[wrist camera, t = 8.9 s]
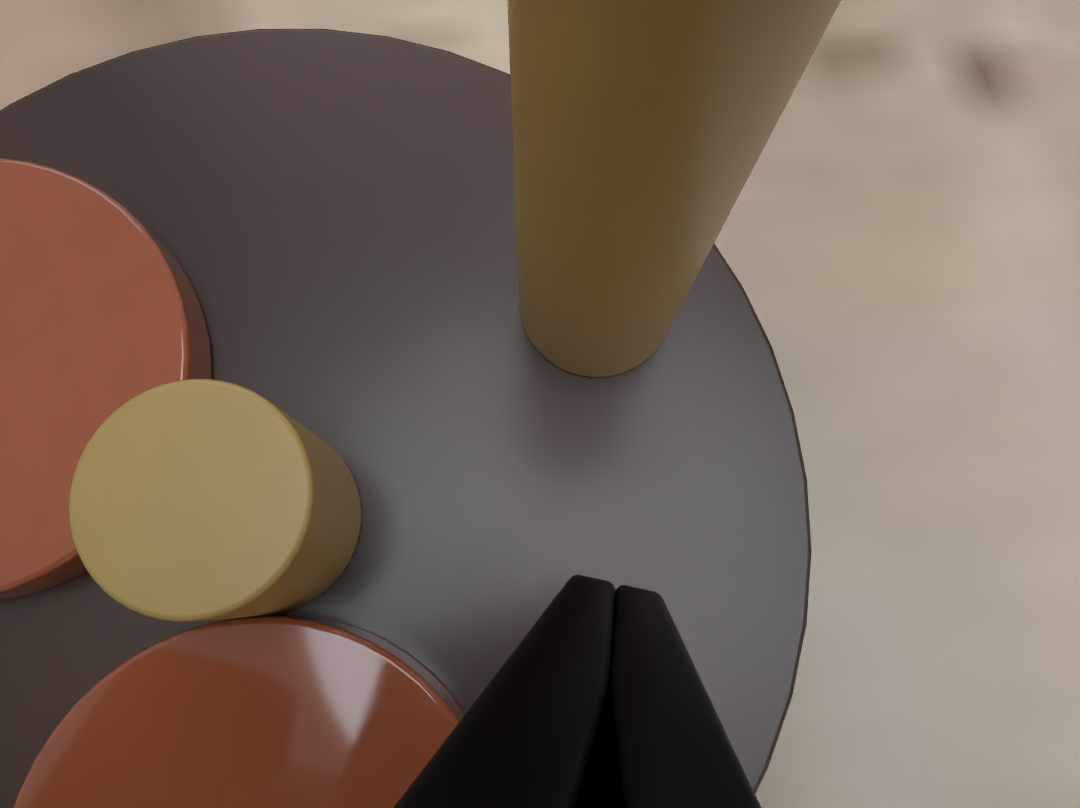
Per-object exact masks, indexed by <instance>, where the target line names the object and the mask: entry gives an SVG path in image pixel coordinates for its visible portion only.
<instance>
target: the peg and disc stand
mask: <svg viewBox="0 0 1080 808" xmlns="http://www.w3.org/2000/svg"><path fill="white" fill-rule="evenodd" d="M840 1H841V0H508V24H509V49H510V74H511V75H510V74H508V73H505V72H502V71H500V70H497V69H494V68H492V67H489V66H486V65H484V64H481V63H478V62H476V61H473V60H470V59H468V58H465V57H462V56H460V55H457V54H454V53H452V52H449V51H445V50H441V49H437V48H433V47H429V46H424V45H420V44H416V43H412V42H408V41H404V40H400V39H396V38H391V37H387V36H379V35H371V34H362V33H354V32H345V31H337V30H328V29H256V30H248V31H239V32H231V33H222V34H214V35H205V36H197V37H192V38H188V39H184V40H180V41H175V42H171V43H167V44H163V45H159V46H154V47H150V48H146V49H142V50H138V51H133V52H130V53H127V54H125V55H122V56H119V57H116V58H114V59H111V60H108V61H105V62H103V63H100V64H97V65H94V66H92V67H89V68H86V69H83V70H81V71H78V72H75V73H72V74H70V75H68V76H66V77H64V78H62V79H60V80H58V81H56V82H54V83H52V84H50V85H48V86H46V87H44V88H42V89H40V90H38V91H36V92H34V93H32V94H30V95H28V96H26V97H24V98H22V99H20V100H18V101H16V102H14V103H12V104H10V105H8V106H7V107H5V108H4V109H2V110H1V111H0V808H394V806H395V805H396V804H397V802H398V801H399V800H400V798H401V797H402V796H403V794H404V793H405V792H406V791H407V789H408V788H409V787H410V785H411V784H412V783H413V781H414V780H415V779H416V778H417V776H418V775H419V774H420V772H421V771H422V770H423V768H424V767H425V766H426V765H427V763H428V762H429V761H430V759H431V758H432V757H433V755H434V754H435V753H436V752H437V750H438V749H439V748H440V746H441V745H442V744H443V742H444V741H445V740H446V739H447V737H448V736H449V735H450V733H451V732H452V731H453V729H454V728H455V727H456V726H457V724H458V723H459V722H460V720H461V719H462V718H463V716H464V715H465V714H466V713H467V711H468V710H469V709H470V707H471V706H472V705H473V703H474V702H475V701H476V700H477V698H478V697H479V696H480V694H481V693H482V692H483V690H484V689H485V688H486V687H487V685H488V684H489V683H490V681H491V680H492V679H493V677H494V676H495V675H496V674H497V672H498V671H499V670H500V668H501V667H502V666H503V664H504V663H505V662H506V661H507V659H508V658H509V657H510V655H511V654H512V653H513V651H514V650H515V649H516V648H517V646H518V645H519V644H520V642H521V641H522V640H523V638H524V637H525V636H526V635H527V633H528V632H529V631H530V629H531V628H532V627H533V625H534V624H535V623H536V622H537V620H538V619H539V618H540V616H541V615H542V614H543V612H544V611H545V610H546V608H547V607H548V606H549V605H550V603H551V602H552V601H553V599H554V598H555V597H556V595H557V594H558V593H559V592H560V590H561V589H562V588H563V586H564V585H565V584H566V582H567V581H568V580H569V579H570V578H571V577H572V576H574V575H583V576H587V577H592V578H596V579H601V580H605V581H609V582H611V583H612V584H613V585H614V587H615V590H616V589H617V588H618V587H619V586H621V585H628V586H632V587H637V588H641V589H646V590H650V591H654V592H657V593H658V594H660V595H661V597H662V598H663V600H664V602H665V604H666V606H667V608H668V610H669V612H670V615H671V617H672V619H673V621H674V623H675V625H676V627H677V629H678V632H679V634H680V636H681V638H682V640H683V642H684V644H685V646H686V649H687V651H688V653H689V655H690V657H691V659H692V661H693V663H694V666H695V668H696V670H697V672H698V674H699V676H700V678H701V681H702V683H703V685H704V687H705V689H706V691H707V693H708V695H709V698H710V700H711V702H712V704H713V706H714V708H715V710H716V712H717V715H718V717H719V719H720V721H721V723H722V725H723V727H724V729H725V732H726V734H727V736H728V738H729V740H730V742H731V744H732V747H733V749H734V751H735V753H736V755H737V757H738V759H739V761H740V764H741V766H742V768H743V770H744V772H745V774H746V776H747V778H748V781H749V783H750V785H751V787H752V789H753V791H754V793H756V791H757V789H758V787H759V785H760V783H761V781H762V779H763V777H764V775H765V773H766V771H767V769H768V766H769V763H770V760H771V757H772V754H773V751H774V748H775V745H776V742H777V739H778V736H779V733H780V730H781V728H782V725H783V722H784V719H785V716H786V713H787V710H788V707H789V704H790V701H791V698H792V694H793V689H794V684H795V679H796V674H797V669H798V664H799V659H800V654H801V649H802V644H803V639H804V634H805V629H806V623H807V608H808V593H809V578H810V563H811V538H810V522H809V506H808V490H807V478H806V473H805V468H804V463H803V458H802V453H801V448H800V442H799V437H798V432H797V427H796V422H795V417H794V412H793V409H792V406H791V403H790V400H789V397H788V394H787V391H786V388H785V385H784V382H783V379H782V376H781V373H780V370H779V367H778V364H777V361H776V358H775V355H774V352H773V349H772V346H771V344H770V342H769V340H768V338H767V336H766V334H765V332H764V330H763V328H762V326H761V324H760V322H759V320H758V317H757V315H756V313H755V311H754V309H753V307H752V305H751V303H750V301H749V299H748V297H747V295H746V293H745V291H744V289H743V287H742V285H741V284H740V282H739V281H738V279H737V278H736V276H735V275H734V273H733V271H732V270H731V268H730V267H729V265H728V264H727V262H726V261H725V259H724V258H723V256H722V255H721V253H720V252H719V250H718V249H717V247H716V246H715V244H714V242H715V240H716V238H717V236H718V234H719V232H720V230H721V228H722V227H723V225H724V223H725V221H726V219H727V217H728V215H729V213H730V211H731V209H732V207H733V206H734V204H735V202H736V200H737V198H738V196H739V194H740V192H741V190H742V188H743V186H744V185H745V183H746V181H747V179H748V177H749V175H750V173H751V171H752V169H753V167H754V165H755V163H756V162H757V160H758V158H759V156H760V154H761V152H762V150H763V148H764V146H765V144H766V142H767V141H768V139H769V137H770V135H771V133H772V131H773V129H774V127H775V125H776V123H777V121H778V120H779V118H780V116H781V114H782V112H783V110H784V108H785V106H786V104H787V102H788V100H789V98H790V97H791V95H792V93H793V91H794V89H795V87H796V85H797V83H798V81H799V79H800V77H801V76H802V74H803V72H804V70H805V68H806V66H807V64H808V62H809V60H810V58H811V56H812V54H813V53H814V51H815V49H816V47H817V45H818V43H819V41H820V39H821V37H822V35H823V33H824V32H825V30H826V28H827V26H828V24H829V22H830V20H831V18H832V16H833V14H834V12H835V11H836V9H837V7H838V5H839V3H840Z"/></svg>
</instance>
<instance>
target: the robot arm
mask: <svg viewBox="0 0 1080 808" xmlns="http://www.w3.org/2000/svg"><path fill="white" fill-rule="evenodd" d="M394 808H761V806H760V804H759V802H758V800H757V798H756V795H755V793H754V791H753V789H752V787H751V785H750V783H749V781H748V778H747V776H746V774H745V772H744V770H743V768H742V766H741V764H740V761H739V759H738V757H737V755H736V753H735V751H734V749H733V747H732V744H731V742H730V740H729V738H728V736H727V734H726V732H725V729H724V727H723V725H722V723H721V721H720V719H719V717H718V715H717V712H716V710H715V708H714V706H713V704H712V702H711V700H710V698H709V695H708V693H707V691H706V689H705V687H704V685H703V683H702V681H701V678H700V676H699V674H698V672H697V670H696V668H695V666H694V663H693V661H692V659H691V657H690V655H689V653H688V651H687V649H686V646H685V644H684V642H683V640H682V638H681V636H680V634H679V632H678V629H677V627H676V625H675V623H674V621H673V619H672V617H671V615H670V612H669V610H668V608H667V606H666V604H665V602H664V600H663V598H662V597H661V595H660V594H658V593H657V592H654V591H650V590H646V589H641V588H637V587H632V586H628V585H621V586H619V587H618V588H617V589H616V590H615V587H614V585H613V584H612V583H611V582H609V581H605V580H601V579H596V578H592V577H587V576H583V575H574V576H572V577H571V578H570V579H569V580H568V581H567V582H566V584H565V585H564V586H563V588H562V589H561V590H560V592H559V593H558V594H557V595H556V597H555V598H554V599H553V601H552V602H551V603H550V605H549V606H548V607H547V608H546V610H545V611H544V612H543V614H542V615H541V616H540V618H539V619H538V620H537V622H536V623H535V624H534V625H533V627H532V628H531V629H530V631H529V632H528V633H527V635H526V636H525V637H524V638H523V640H522V641H521V642H520V644H519V645H518V646H517V648H516V649H515V650H514V651H513V653H512V654H511V655H510V657H509V658H508V659H507V661H506V662H505V663H504V664H503V666H502V667H501V668H500V670H499V671H498V672H497V674H496V675H495V676H494V677H493V679H492V680H491V681H490V683H489V684H488V685H487V687H486V688H485V689H484V690H483V692H482V693H481V694H480V696H479V697H478V698H477V700H476V701H475V702H474V703H473V705H472V706H471V707H470V709H469V710H468V711H467V713H466V714H465V715H464V716H463V718H462V719H461V720H460V722H459V723H458V724H457V726H456V727H455V728H454V729H453V731H452V732H451V733H450V735H449V736H448V737H447V739H446V740H445V741H444V742H443V744H442V745H441V746H440V748H439V749H438V750H437V752H436V753H435V754H434V755H433V757H432V758H431V759H430V761H429V762H428V763H427V765H426V766H425V767H424V768H423V770H422V771H421V772H420V774H419V775H418V776H417V778H416V779H415V780H414V781H413V783H412V784H411V785H410V787H409V788H408V789H407V791H406V792H405V793H404V794H403V796H402V797H401V798H400V800H399V801H398V802H397V804H396V805H395V806H394Z"/></svg>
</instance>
